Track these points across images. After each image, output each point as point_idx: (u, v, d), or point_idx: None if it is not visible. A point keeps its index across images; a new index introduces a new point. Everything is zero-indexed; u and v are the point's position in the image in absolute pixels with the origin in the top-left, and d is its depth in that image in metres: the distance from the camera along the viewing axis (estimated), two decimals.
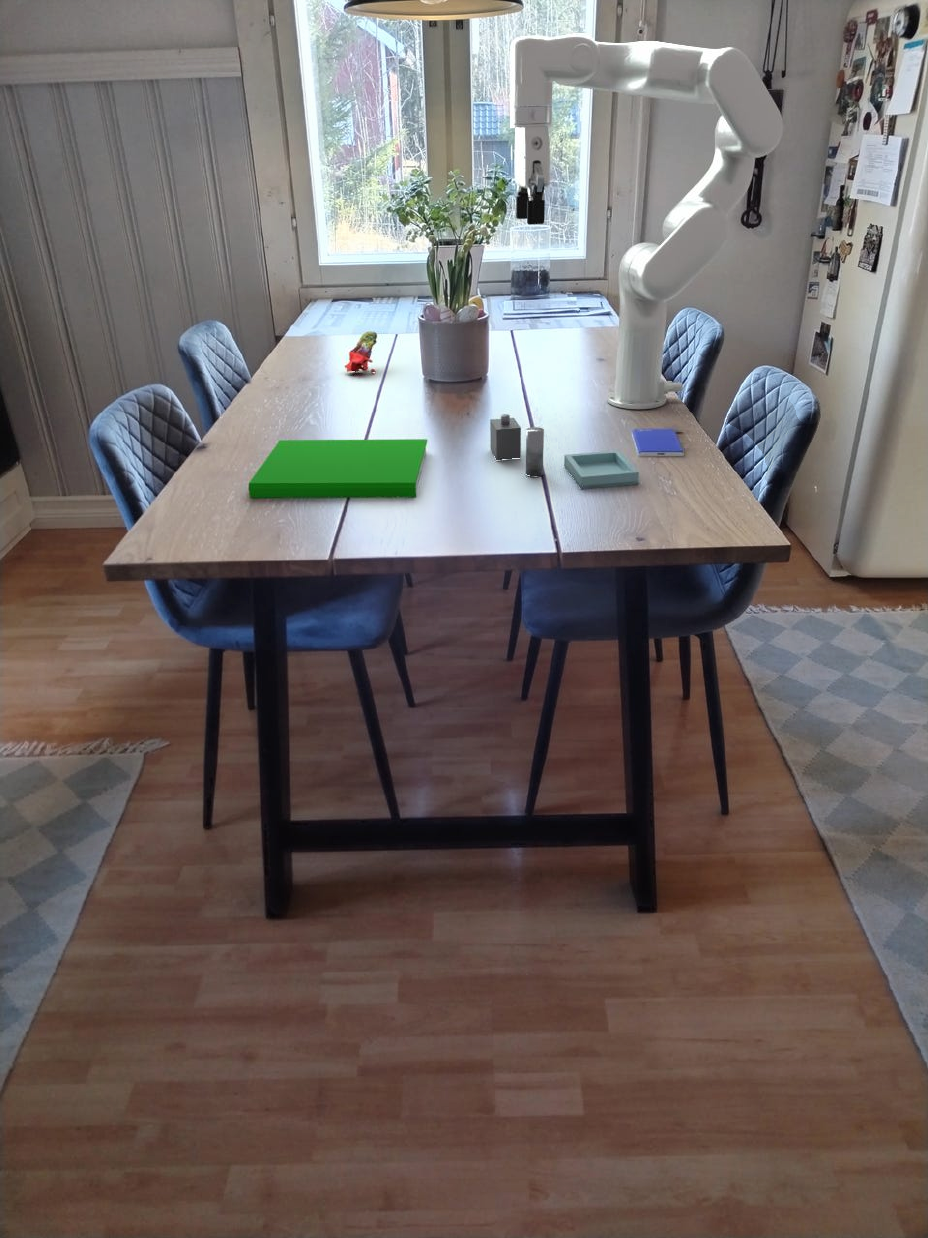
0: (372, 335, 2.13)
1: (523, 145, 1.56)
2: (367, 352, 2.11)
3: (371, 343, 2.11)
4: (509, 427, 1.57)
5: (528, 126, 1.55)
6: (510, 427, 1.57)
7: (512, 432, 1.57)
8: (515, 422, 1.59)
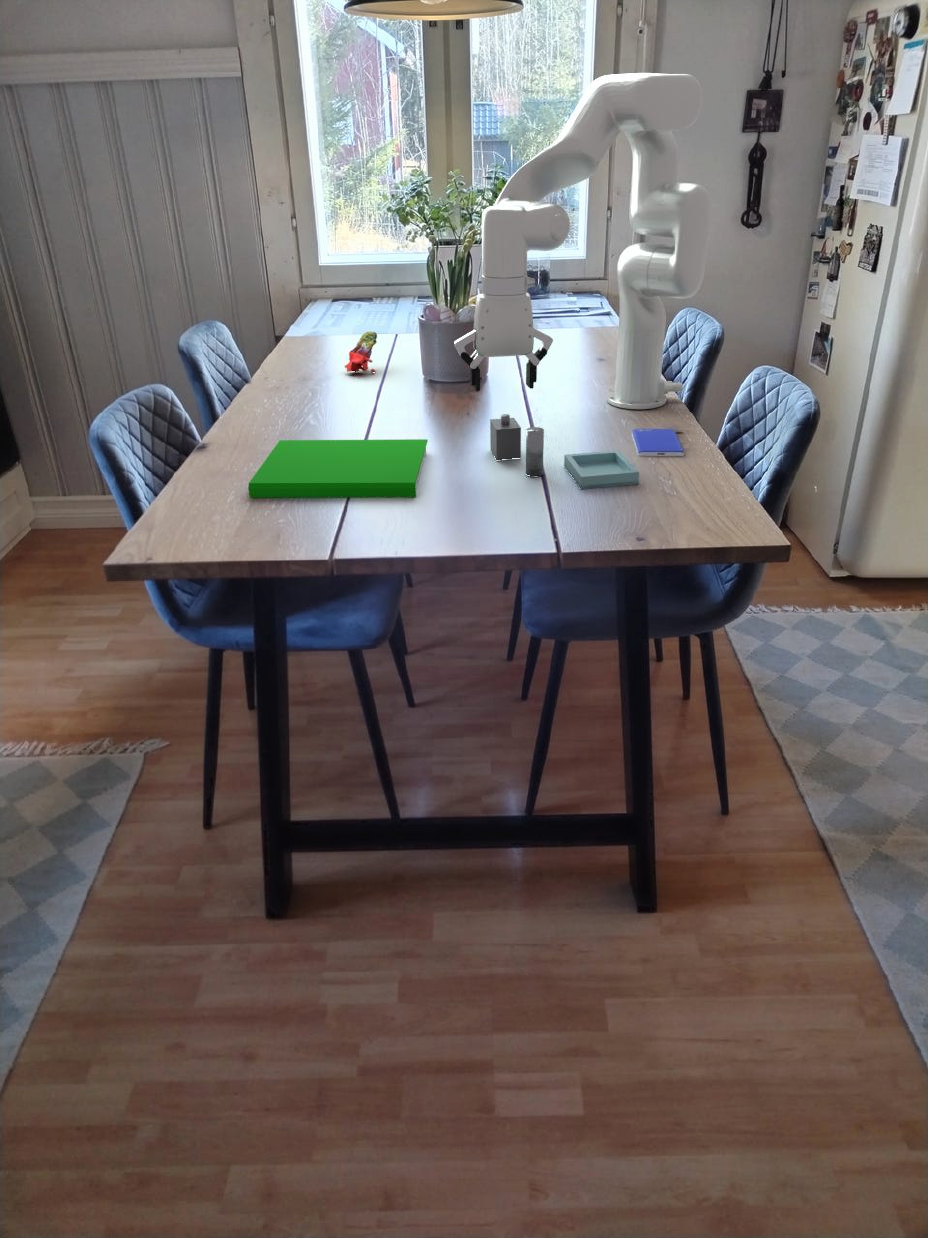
0: (372, 335, 2.13)
1: (528, 313, 1.47)
2: (367, 352, 2.11)
3: (371, 343, 2.11)
4: (509, 427, 1.57)
5: (526, 294, 1.47)
6: (510, 427, 1.57)
7: (512, 432, 1.57)
8: (515, 422, 1.59)
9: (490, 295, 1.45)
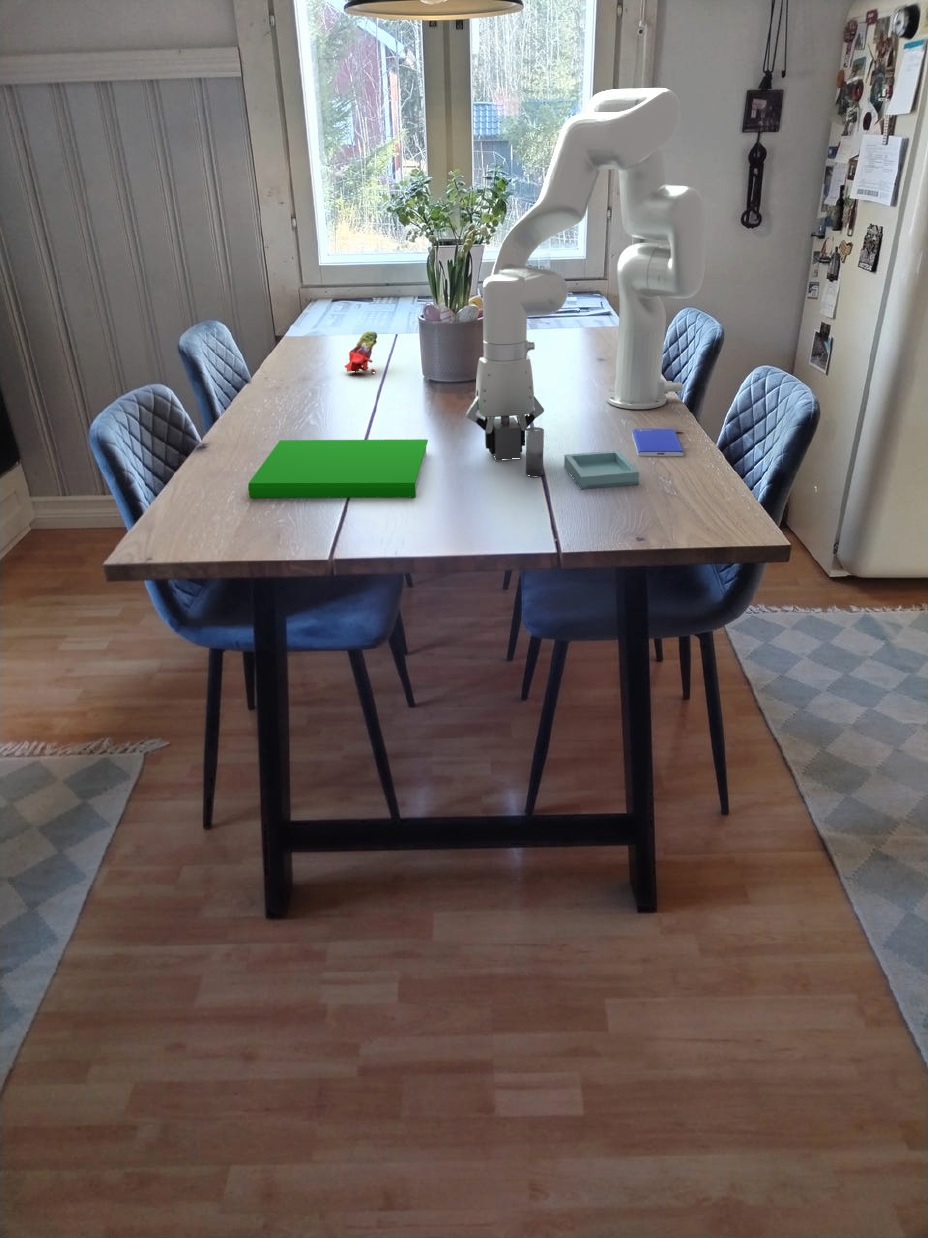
0: (372, 335, 2.13)
1: (528, 376, 1.53)
2: (367, 352, 2.11)
3: (371, 343, 2.11)
4: (509, 427, 1.57)
5: (526, 358, 1.52)
6: (509, 426, 1.57)
7: (512, 432, 1.57)
8: (515, 422, 1.59)
9: (491, 360, 1.50)
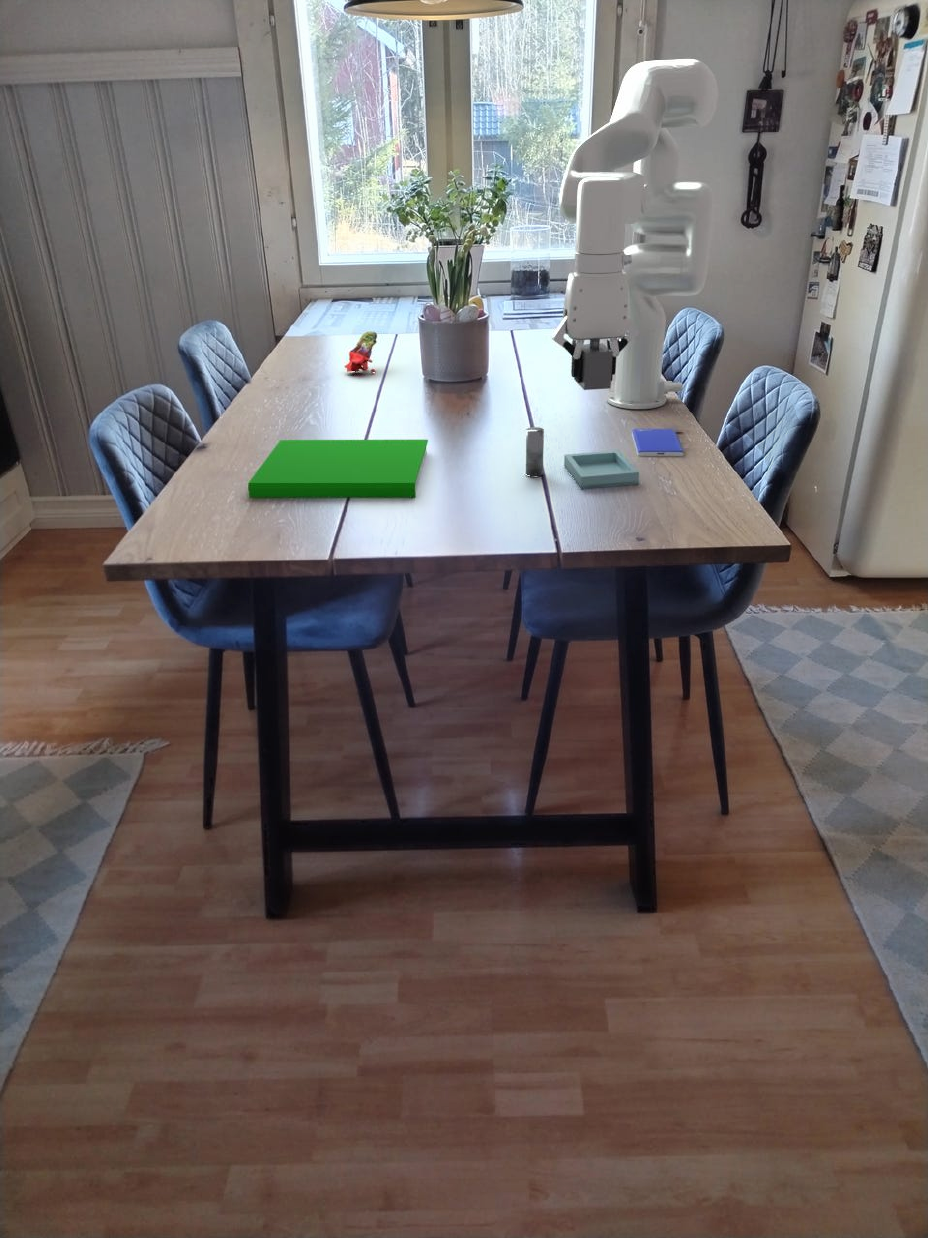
0: (372, 335, 2.13)
1: (624, 293, 1.38)
2: (367, 352, 2.11)
3: (371, 343, 2.11)
4: (600, 351, 1.42)
5: (622, 272, 1.37)
6: (600, 350, 1.42)
7: (603, 357, 1.42)
8: (605, 347, 1.44)
9: (585, 273, 1.35)
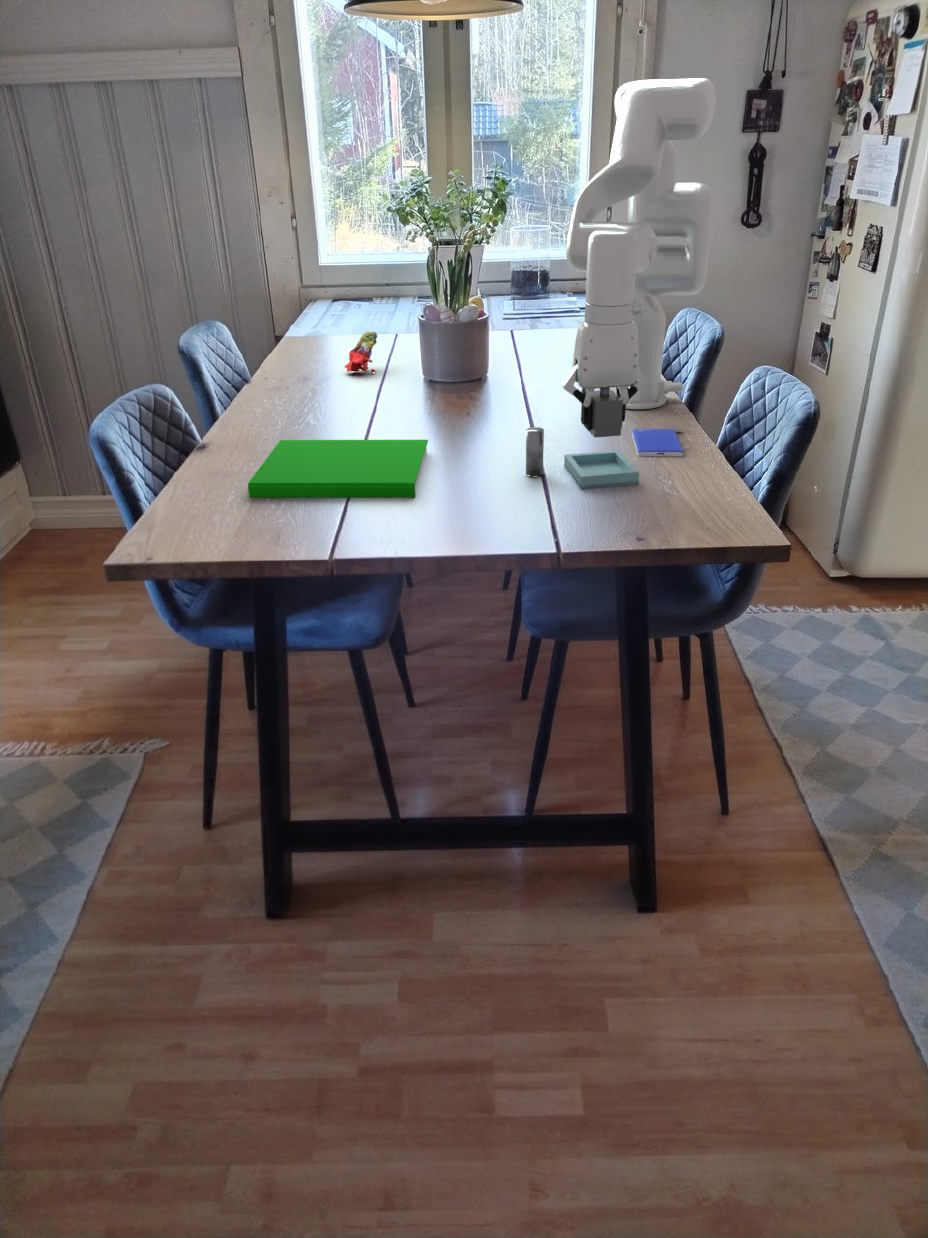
0: (372, 335, 2.13)
1: (634, 343, 1.39)
2: (367, 352, 2.11)
3: (371, 343, 2.11)
4: (610, 399, 1.42)
5: (632, 322, 1.38)
6: (610, 399, 1.42)
7: (613, 405, 1.42)
8: (615, 394, 1.45)
9: (595, 324, 1.36)
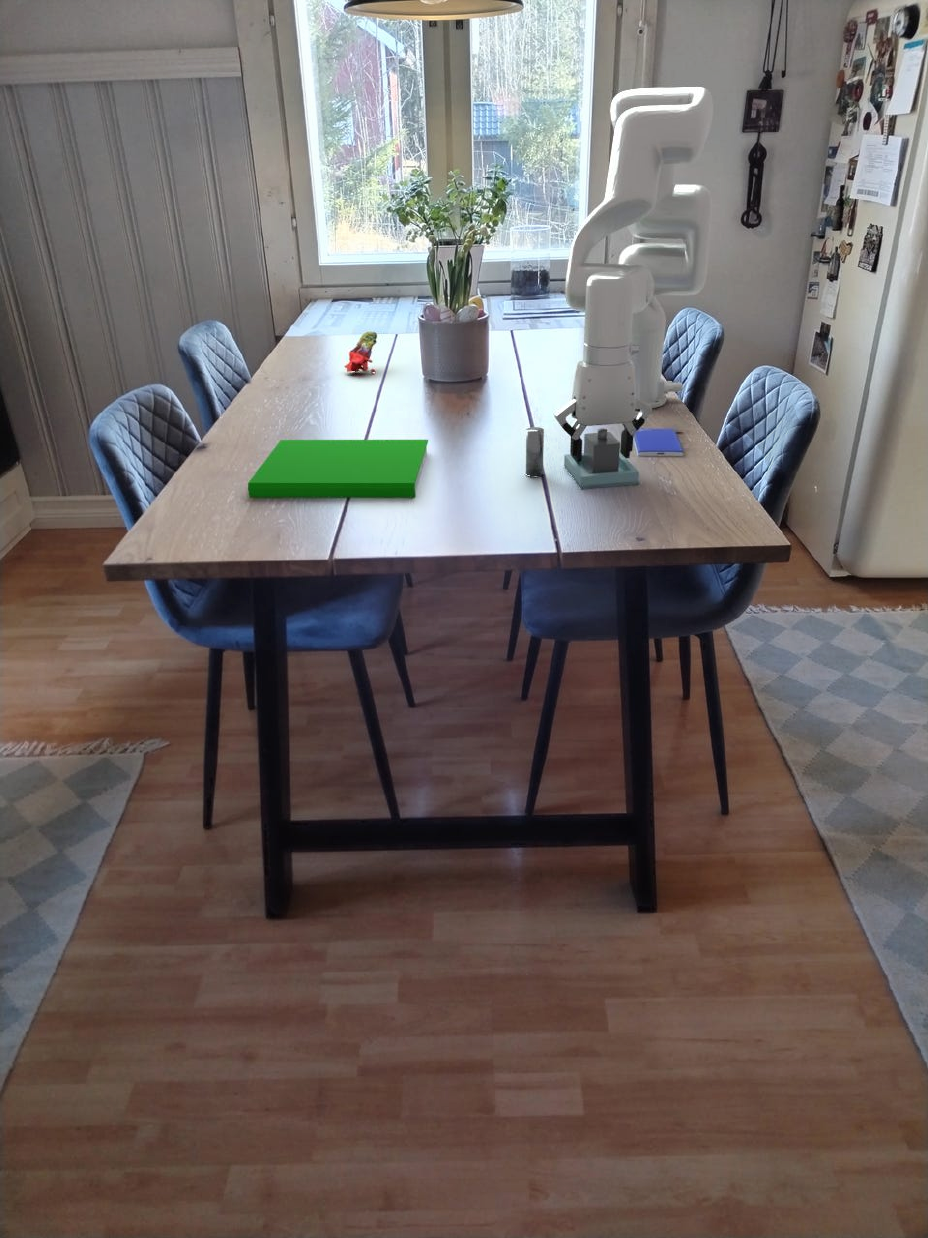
0: (372, 335, 2.13)
1: (631, 382, 1.42)
2: (367, 352, 2.11)
3: (371, 343, 2.11)
4: (607, 442, 1.46)
5: (629, 362, 1.41)
6: (608, 442, 1.46)
7: (610, 448, 1.46)
8: (612, 437, 1.49)
9: (593, 365, 1.39)
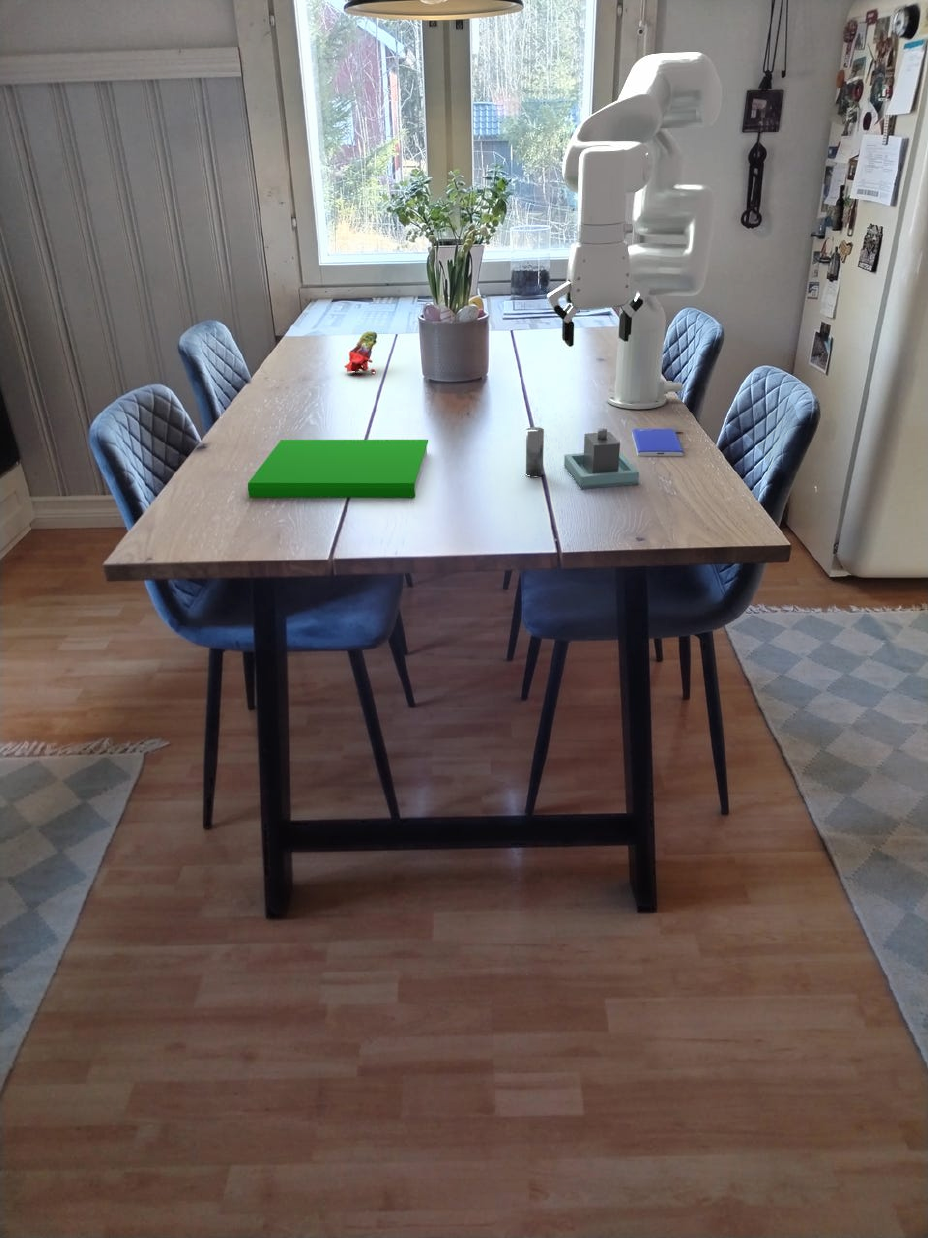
0: (372, 335, 2.13)
1: (626, 262, 1.41)
2: (367, 352, 2.11)
3: (371, 343, 2.11)
4: (607, 442, 1.46)
5: (623, 242, 1.40)
6: (608, 442, 1.46)
7: (610, 448, 1.46)
8: (612, 437, 1.49)
9: (588, 244, 1.38)
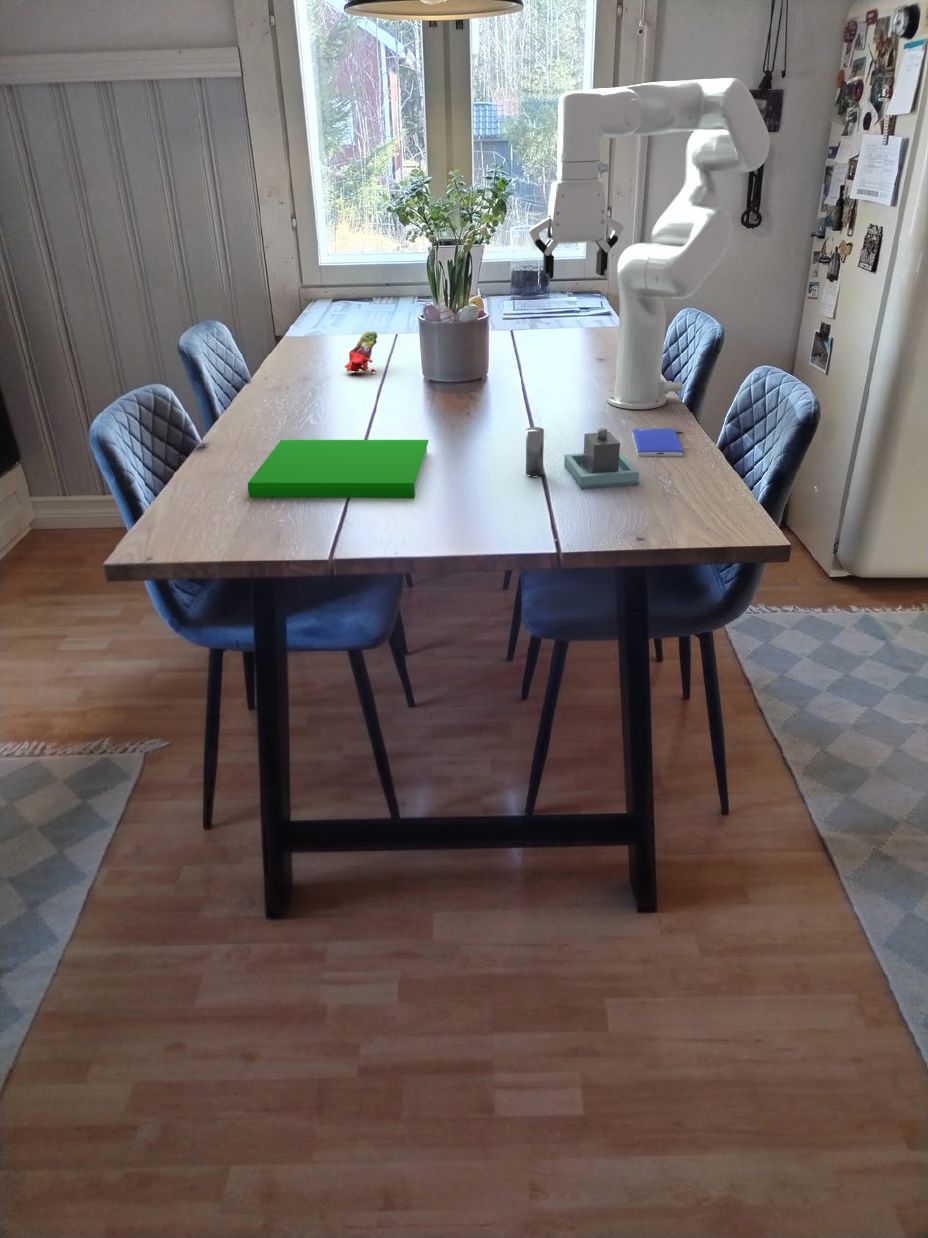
0: (372, 335, 2.13)
1: (601, 199, 1.53)
2: (367, 352, 2.11)
3: (371, 343, 2.11)
4: (607, 442, 1.46)
5: (599, 180, 1.53)
6: (608, 442, 1.46)
7: (610, 448, 1.46)
8: (612, 437, 1.49)
9: (566, 180, 1.51)
